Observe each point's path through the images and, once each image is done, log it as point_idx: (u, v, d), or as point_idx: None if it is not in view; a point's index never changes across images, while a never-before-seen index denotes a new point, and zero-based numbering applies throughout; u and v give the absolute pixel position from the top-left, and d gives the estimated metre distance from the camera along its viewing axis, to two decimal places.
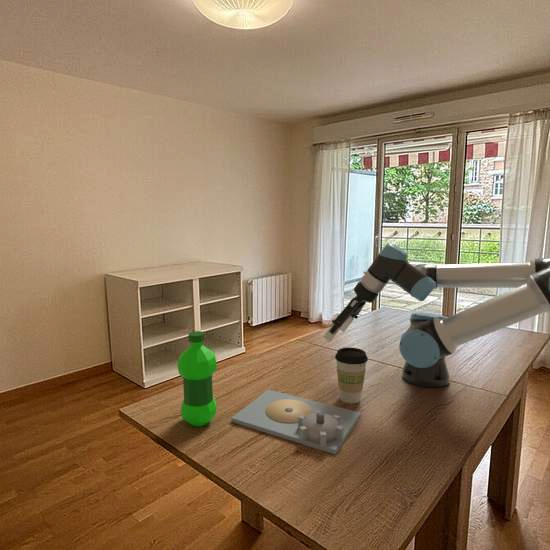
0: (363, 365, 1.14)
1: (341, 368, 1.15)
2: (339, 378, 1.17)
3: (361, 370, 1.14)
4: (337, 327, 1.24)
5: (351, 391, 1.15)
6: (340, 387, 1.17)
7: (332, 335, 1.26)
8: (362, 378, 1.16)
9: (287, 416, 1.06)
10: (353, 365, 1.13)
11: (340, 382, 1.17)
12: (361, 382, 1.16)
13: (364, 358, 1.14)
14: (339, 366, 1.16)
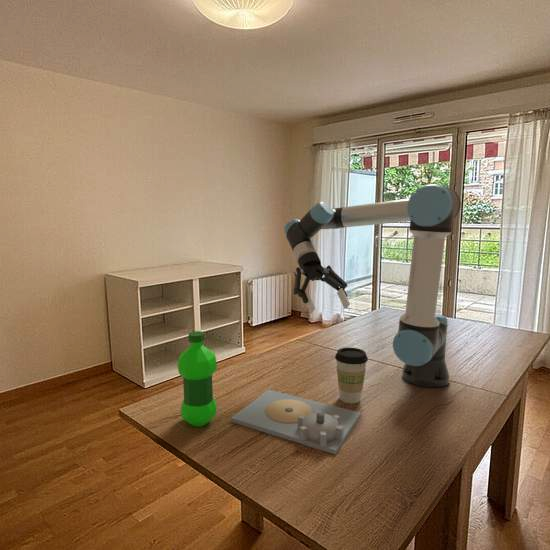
0: (363, 365, 1.14)
1: (341, 368, 1.15)
2: (339, 378, 1.17)
3: (361, 370, 1.14)
4: (301, 292, 1.24)
5: (351, 391, 1.15)
6: (340, 387, 1.17)
7: (309, 302, 1.23)
8: (362, 378, 1.16)
9: (287, 416, 1.06)
10: (353, 365, 1.13)
11: (340, 382, 1.17)
12: (361, 382, 1.16)
13: (364, 358, 1.14)
14: (339, 366, 1.16)
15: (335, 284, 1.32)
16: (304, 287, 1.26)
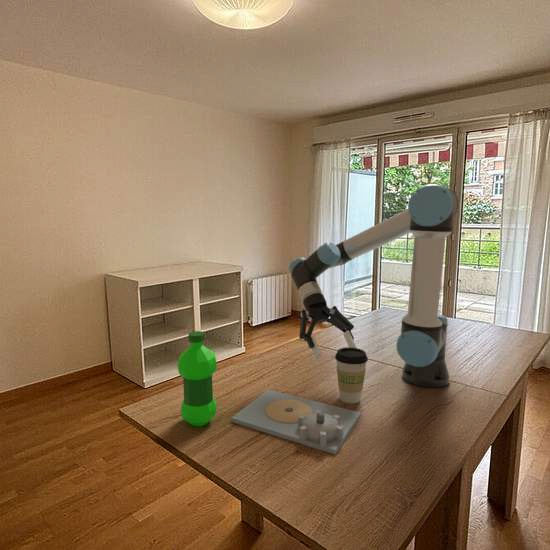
0: (363, 365, 1.14)
1: (341, 368, 1.15)
2: (339, 378, 1.17)
3: (361, 370, 1.14)
4: (307, 337, 1.22)
5: (351, 391, 1.15)
6: (340, 387, 1.17)
7: (315, 348, 1.20)
8: (362, 378, 1.16)
9: (287, 416, 1.06)
10: (353, 365, 1.13)
11: (340, 382, 1.17)
12: (361, 382, 1.16)
13: (364, 358, 1.14)
14: (339, 366, 1.16)
15: (341, 326, 1.29)
16: (310, 331, 1.23)
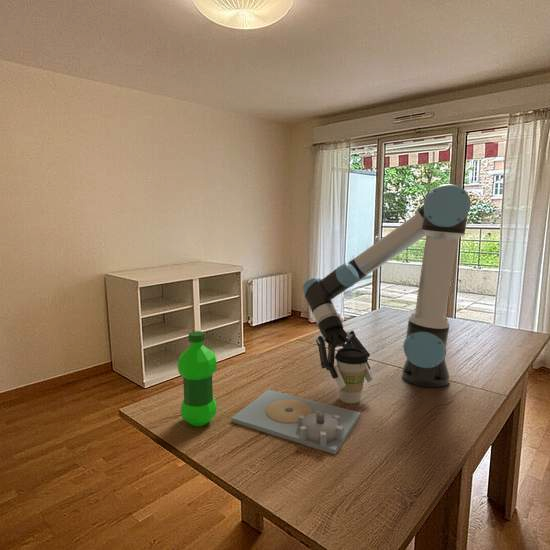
0: (363, 365, 1.14)
1: (341, 368, 1.15)
2: None
3: (361, 370, 1.14)
4: (330, 367, 1.16)
5: (351, 391, 1.15)
6: None
7: (339, 378, 1.14)
8: (362, 378, 1.16)
9: (287, 416, 1.06)
10: (353, 365, 1.13)
11: None
12: (361, 382, 1.16)
13: (364, 358, 1.14)
14: (339, 366, 1.16)
15: None
16: (332, 360, 1.17)
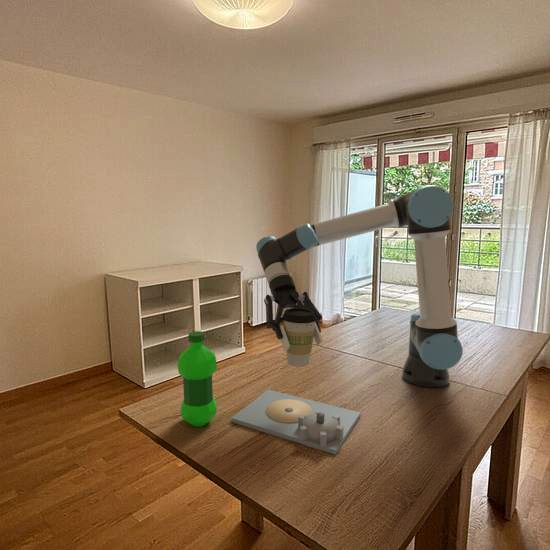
0: (310, 325, 1.06)
1: (287, 328, 1.07)
2: None
3: (308, 330, 1.06)
4: (275, 327, 1.07)
5: (297, 353, 1.07)
6: None
7: (284, 339, 1.05)
8: (310, 339, 1.07)
9: (287, 416, 1.06)
10: (299, 324, 1.04)
11: None
12: (308, 344, 1.07)
13: (312, 317, 1.06)
14: (285, 326, 1.07)
15: None
16: (278, 320, 1.08)
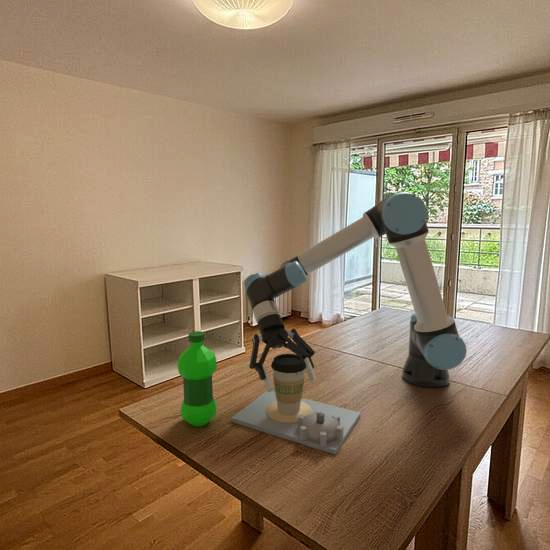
0: (300, 374, 1.04)
1: (276, 377, 1.05)
2: (275, 388, 1.07)
3: (298, 379, 1.04)
4: (258, 367, 1.05)
5: (288, 402, 1.05)
6: (277, 397, 1.07)
7: (267, 380, 1.04)
8: (300, 388, 1.06)
9: (287, 416, 1.06)
10: (288, 374, 1.03)
11: (276, 392, 1.07)
12: (299, 392, 1.06)
13: (301, 366, 1.04)
14: (275, 375, 1.06)
15: (300, 352, 1.13)
16: (262, 360, 1.07)
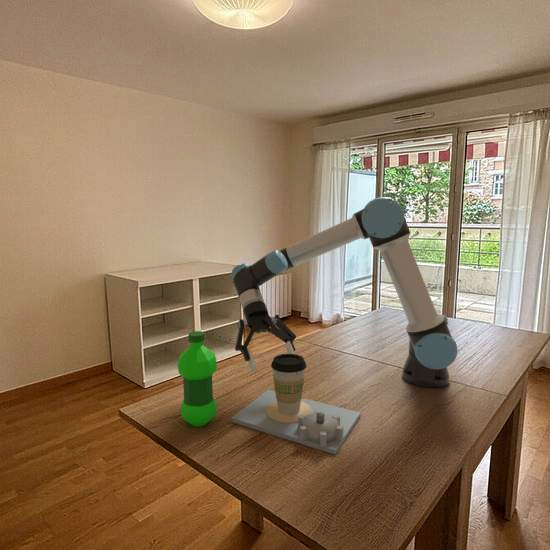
0: (300, 373, 1.05)
1: (276, 377, 1.06)
2: (275, 387, 1.07)
3: (298, 379, 1.05)
4: (243, 349, 1.14)
5: (288, 402, 1.05)
6: (277, 397, 1.07)
7: (251, 360, 1.13)
8: (299, 387, 1.06)
9: (287, 416, 1.06)
10: (288, 373, 1.03)
11: (276, 392, 1.07)
12: (298, 392, 1.06)
13: (301, 366, 1.05)
14: (274, 374, 1.06)
15: (282, 336, 1.22)
16: (246, 343, 1.15)
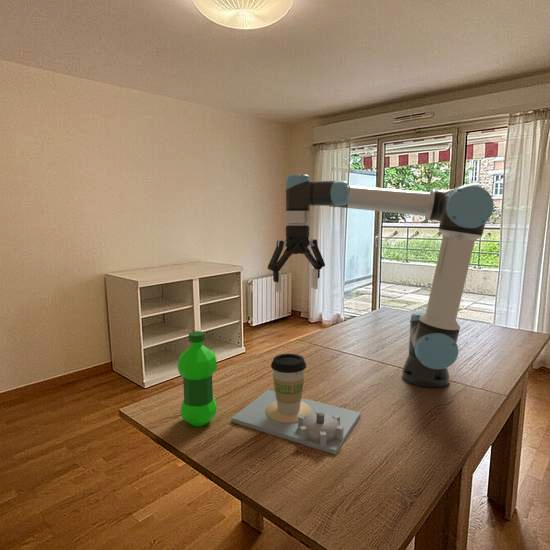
0: (300, 373, 1.05)
1: (276, 377, 1.05)
2: (275, 388, 1.07)
3: (298, 379, 1.04)
4: (274, 272, 1.21)
5: (288, 402, 1.05)
6: (276, 397, 1.07)
7: (278, 284, 1.22)
8: (299, 387, 1.06)
9: (287, 416, 1.06)
10: (288, 374, 1.03)
11: (276, 392, 1.07)
12: (298, 392, 1.06)
13: (301, 366, 1.04)
14: (274, 375, 1.06)
15: (313, 263, 1.27)
16: (279, 266, 1.21)
